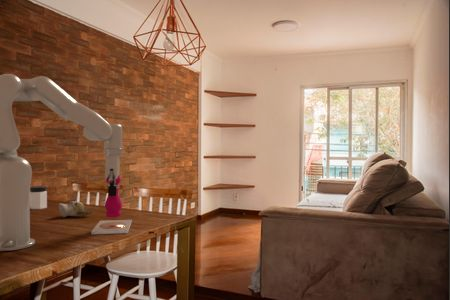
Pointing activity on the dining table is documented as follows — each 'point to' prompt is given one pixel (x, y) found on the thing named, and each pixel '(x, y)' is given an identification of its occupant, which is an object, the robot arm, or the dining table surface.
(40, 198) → the jar
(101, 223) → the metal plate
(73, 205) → the ceramic sculpture
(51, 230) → the dining table surface
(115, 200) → the pepper mill
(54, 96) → the robot arm
